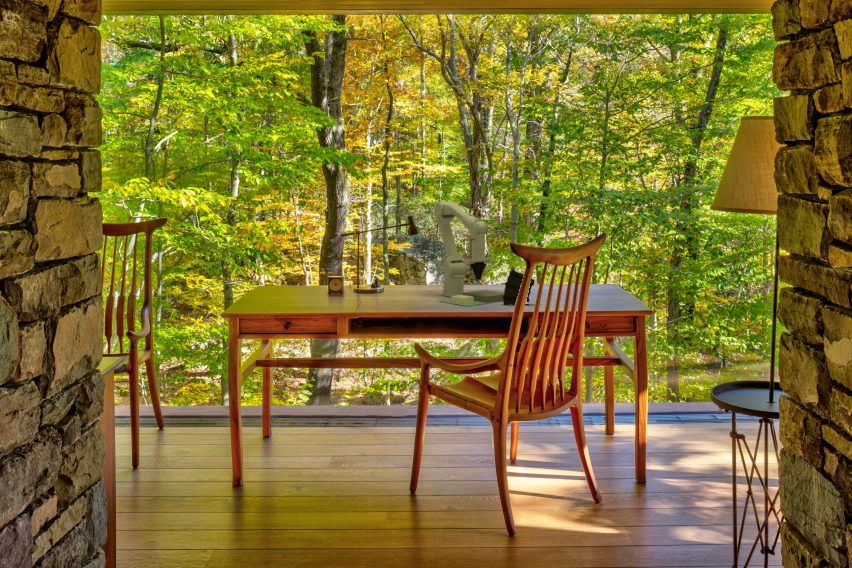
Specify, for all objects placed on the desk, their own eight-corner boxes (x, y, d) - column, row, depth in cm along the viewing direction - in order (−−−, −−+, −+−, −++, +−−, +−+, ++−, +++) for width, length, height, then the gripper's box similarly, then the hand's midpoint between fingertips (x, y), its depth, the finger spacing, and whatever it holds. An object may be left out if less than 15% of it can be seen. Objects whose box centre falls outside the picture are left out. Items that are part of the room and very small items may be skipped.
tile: (461, 294, 348) (461, 300, 348) (451, 296, 344) (450, 301, 344) (473, 296, 342) (473, 302, 342) (463, 298, 338) (463, 303, 338)
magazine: (495, 299, 341) (511, 268, 339) (523, 313, 341) (539, 282, 338) (495, 301, 338) (511, 269, 335) (523, 314, 337) (539, 283, 335)
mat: (439, 301, 347) (439, 300, 347) (459, 299, 354) (459, 298, 354) (466, 306, 333) (466, 305, 333) (487, 303, 341) (487, 302, 341)
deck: (462, 299, 354) (462, 292, 354) (485, 296, 363) (485, 289, 363) (487, 303, 342) (487, 296, 342) (510, 300, 351) (510, 293, 350)
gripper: (472, 250, 340) (472, 281, 341) (496, 248, 349) (496, 279, 350) (461, 249, 345) (461, 280, 347) (485, 247, 354) (485, 277, 356)
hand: (478, 279), depth 349 cm, fingers closed
